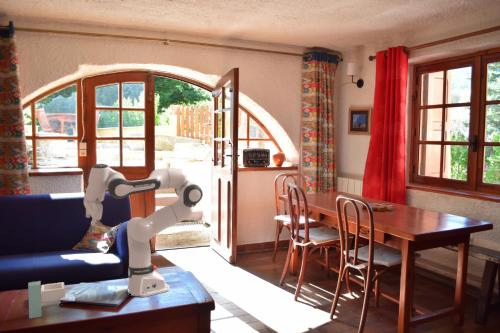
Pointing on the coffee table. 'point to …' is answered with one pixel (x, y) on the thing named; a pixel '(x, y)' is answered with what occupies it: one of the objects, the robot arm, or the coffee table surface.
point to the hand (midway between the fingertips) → (90, 220)
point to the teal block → (34, 299)
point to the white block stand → (52, 294)
